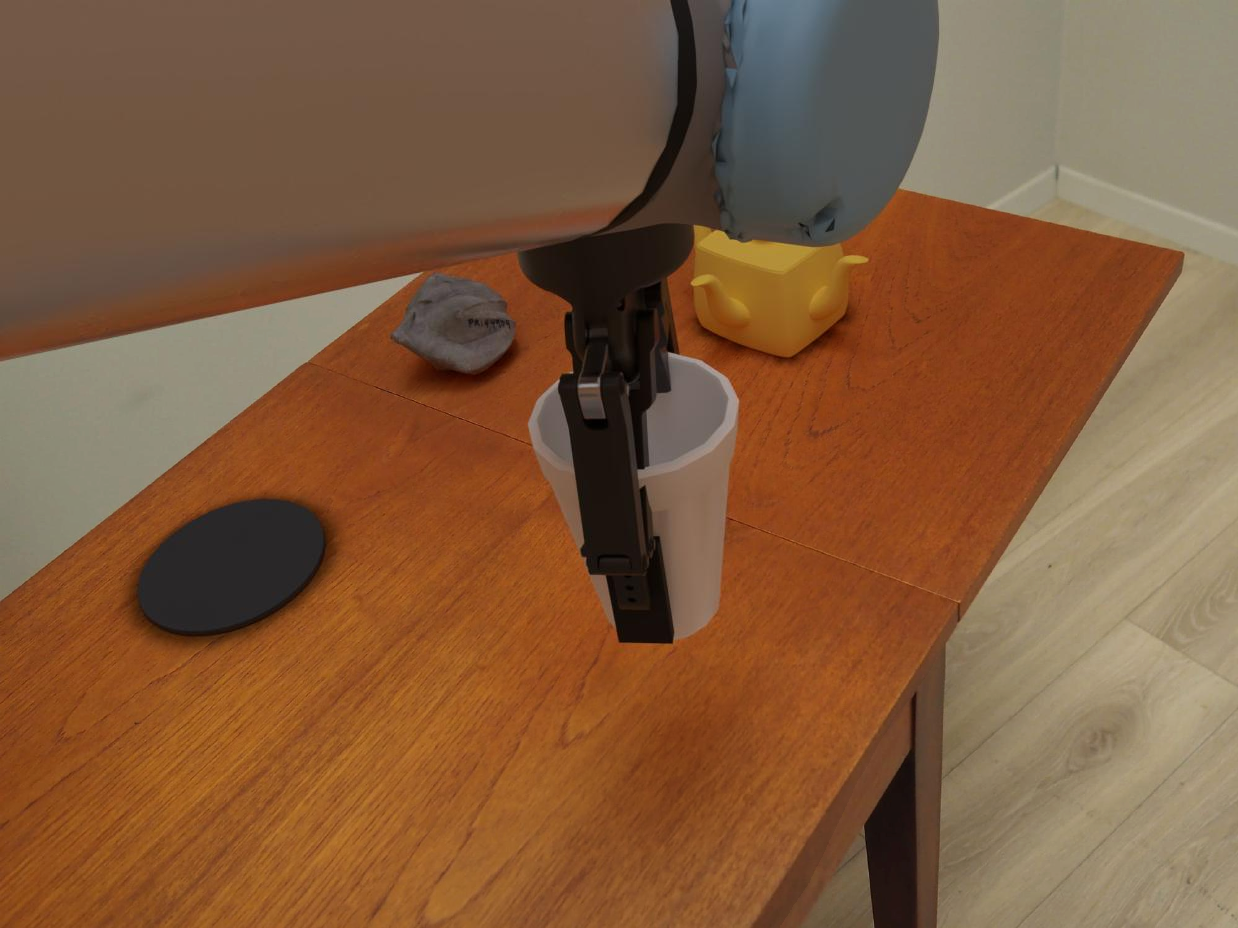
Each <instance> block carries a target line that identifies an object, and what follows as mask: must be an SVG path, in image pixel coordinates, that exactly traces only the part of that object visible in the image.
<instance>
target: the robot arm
mask: <svg viewBox="0 0 1238 928" xmlns="http://www.w3.org/2000/svg"><path fill="white" fill-rule="evenodd" d="M939 12H940V10H939V0H0V362H5V361H9V360H10V361H11V360H14V359H19V358H23V357H28V356H34V355H38V354H43V353H48V352H52V351H58V350H61V349H67V348H71V347H76V346H81V345H85V344H90V343H95V342H99V341H104V340H108V339H113V338H114V339H115V338H119V337H122V336H128V335H133V334H137V333H142V332H146V331H151V330H156V329H161V328H166V327H169V326H174V325H180V324H185V323H189V322H194V321H198V320H203V319H208V318H213V317H217V316H223V315H227V314H231V313H236V312H242V311H246V310H250V309H255V308H260V307H265V306H269V305H275V304H279V303H283V302H284V303H285V302H288V301H294V300H298V299H302V298H307V297H312V296H316V295H323V294H325V293H331V292H335V291H340V290H345V289H350V288H355V287H359V286H364V285H368V284H369V285H370V284H374V283H378V282H384V281H387V280H392V279H397V278H402V277H407V276H411V275H415V274H421V273H426V272H431V271H435V270H439V269H444V268H449V267H453V266H458V265H462V264H468V263H472V262H477V261H481V260H486V259H492V258H496V257H497V258H498V257H501V256H506V255H511V254H515V253H516V255H517V261H518V265H519V267H520V270H521V272H522V273H523V275H524V277H525V278H526V279H527V280H528V281H529V282H531V283H532V284H533V285H534V286H536V287H537V288H539V289H541V290H543V291H545V292H548V293H551V294H553V295H555V296H557V297H559V298H561V299H562V300H564V301H565V302H567V303H568V304H569V305H570V306H571V308H572V309H571V310H570V311H566V312H565V314H564V321H563V325H564V341H565V342H564V343H565V347H566V350H567V351H568V352H569V354H570V355H571V360H572V361H571V362H572V363H571V364H572V371H573V373H570V372H567V373H566V372H565V373H562V374H560V377H559V379H560V382H559V384H558V393H559V395H560V399H561V403H562V406H563V410H564V414H565V417H566V421H567V425H568V428H569V435H570V443H571V450H572V457H573V464H574V472H575V479H576V486H577V493H578V501H579V508H580V515H581V522H582V529H583V537H584V544H583V545H582V548H580V552H581V555H580V557H581V556H582V557H583V558H586V566H587V567H588V572H589V574H590V575H606V580H607V585H608V590H609V595H610V600H611V605H612V610H613V616H614V621H615V626H616V628H615V630H616V635H617V640H618V643H619V644H626V643H627V644H658V645H660V644H661V645H664V644H665V645H674V641H673V639H674V626H673V620H672V613H671V606H670V600H669V593H668V587H667V580H666V574H665V567H664V561H663V554H662V548H661V541H660V536H653V523H652V510H651V507H650V505H649V500H648V495H647V490H646V485H644V486H643V487H642V488H640V489H639V481H638V471H637V470H645V467H649V450H648V432H647V413H646V411H647V410H648V409H649V408H650V407H651V406H652V404H653V403H654V402H655V400H656V396H657V393H668V392H670V391H671V384H670V374H669V364H668V352H669V353H673V354H677V355H681V353H680V347H679V341H678V334H677V330H676V329H677V328H676V324H675V318H674V311H673V306H672V305H673V304H672V300H671V294H670V288H669V283H668V277H670V276H671V275H672V274H674V273H675V272H677V271H678V270H679V269H680V268H681V267H682V266H683V265H684V264H685V263H686V262H687V260H688V258H689V257H690V255H691V254H692V251H693V248H694V239H695V236H694V225H698V226H704V227H708V228H710V229H711V230H714V231H715V230H719V231H723V232H725V234H726V235H727V236H728V238H729V239H730V240H732V239H733V240H738V241H739V242H741V243H747V242H750V241H752V240H753V239H755V240H762V241H769V242H777V243H784V244H792V245H799V246H807V247H825V246H832V245H835V244H838V243H841V244H842V243H844V242H846V241H848V240H850V239H852V238H853V237H855V236H856V235H859V234H860V233H861V232H862V231H864V230H865V229H866V228H867V227H869V225H870V224H871V223H872V222H873V221H874V220H875V219H876V218H877V217H878V216H879V215H880V214H881V213H882V212H883V211H884V209H885V208H886V207H887V206H888V205H889V203H890V201H891V200H892V198H893V197H894V196H895V195H896V193H897V191H898V190H899V187H900V186H901V185H902V182H903V181H904V179H905V177H906V176H907V173H908V171H909V169H910V166H911V165H912V161H913V159H914V157H915V155H916V152H917V150H918V148H919V144H920V141H921V138H922V136H923V134H924V129H925V125H926V122H927V118H928V114H929V109H930V104H931V99H932V94H933V89H934V83H935V78H936V72H937V71H936V69H937V61H938V53H939V43H940V42H939V41H940V13H939ZM588 572H587V573H588ZM589 574H588V575H589Z"/></svg>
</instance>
